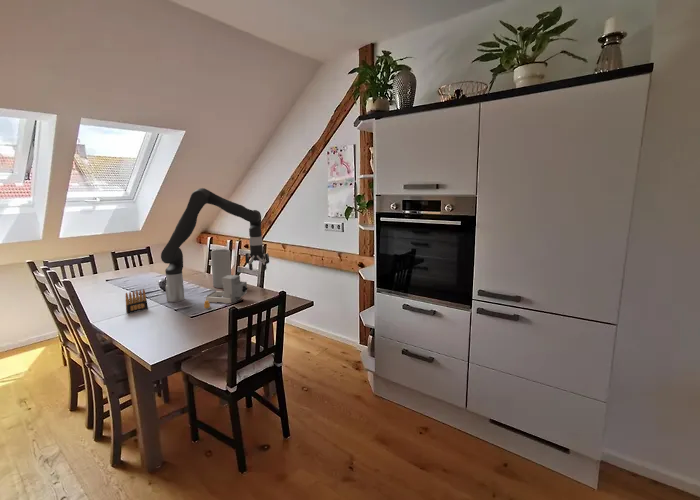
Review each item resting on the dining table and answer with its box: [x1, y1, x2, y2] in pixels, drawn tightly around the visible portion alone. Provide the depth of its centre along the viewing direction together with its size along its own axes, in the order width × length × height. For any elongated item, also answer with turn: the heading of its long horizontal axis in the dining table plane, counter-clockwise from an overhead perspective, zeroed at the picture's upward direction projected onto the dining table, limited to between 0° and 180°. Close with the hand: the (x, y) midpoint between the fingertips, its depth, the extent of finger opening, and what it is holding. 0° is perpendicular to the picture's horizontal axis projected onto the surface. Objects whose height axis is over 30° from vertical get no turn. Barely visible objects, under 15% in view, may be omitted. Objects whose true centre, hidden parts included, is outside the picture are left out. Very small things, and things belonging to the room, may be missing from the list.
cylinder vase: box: [210, 248, 232, 289], centre depth 251 cm, size 12×12×25 cm
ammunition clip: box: [125, 288, 149, 315], centre depth 203 cm, size 11×2×12 cm, turn 138°
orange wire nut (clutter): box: [203, 300, 211, 309], centre depth 210 cm, size 3×3×4 cm
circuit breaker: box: [222, 274, 249, 303], centre depth 222 cm, size 8×14×15 cm, turn 78°
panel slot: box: [205, 290, 232, 304], centre depth 224 cm, size 16×12×4 cm
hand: (258, 270), depth 217 cm, fingers open, 8 cm apart
